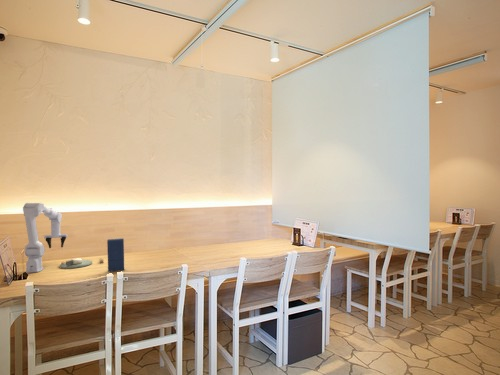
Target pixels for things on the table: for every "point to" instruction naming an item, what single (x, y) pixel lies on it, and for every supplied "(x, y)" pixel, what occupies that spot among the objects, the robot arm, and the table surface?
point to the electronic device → (115, 254)
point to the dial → (74, 261)
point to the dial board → (72, 266)
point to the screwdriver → (101, 260)
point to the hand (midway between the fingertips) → (56, 247)
